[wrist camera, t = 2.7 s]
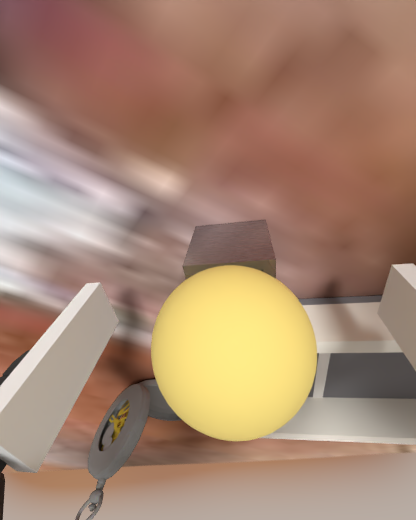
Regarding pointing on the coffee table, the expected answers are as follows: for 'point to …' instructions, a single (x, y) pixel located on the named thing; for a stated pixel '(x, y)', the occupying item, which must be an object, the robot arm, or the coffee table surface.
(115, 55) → the coffee table surface
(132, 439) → the pocket watch
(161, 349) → the ball
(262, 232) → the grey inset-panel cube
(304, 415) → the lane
